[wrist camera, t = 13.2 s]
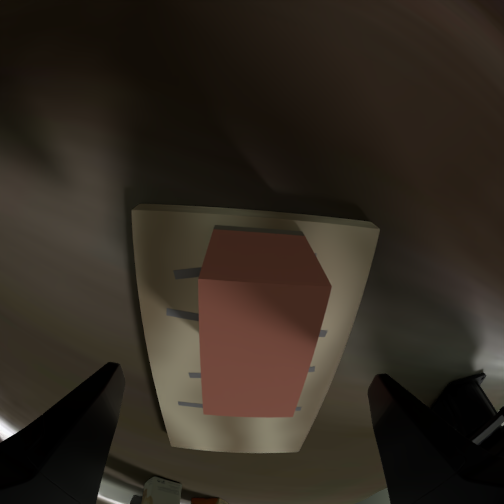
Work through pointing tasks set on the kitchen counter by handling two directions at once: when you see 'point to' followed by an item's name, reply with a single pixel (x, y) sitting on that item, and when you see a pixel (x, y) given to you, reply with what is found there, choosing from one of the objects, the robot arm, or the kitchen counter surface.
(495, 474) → the robot arm
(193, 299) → the cream flat rectangular board
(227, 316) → the block
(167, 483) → the skincare box
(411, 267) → the kitchen counter surface
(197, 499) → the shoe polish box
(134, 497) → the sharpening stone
